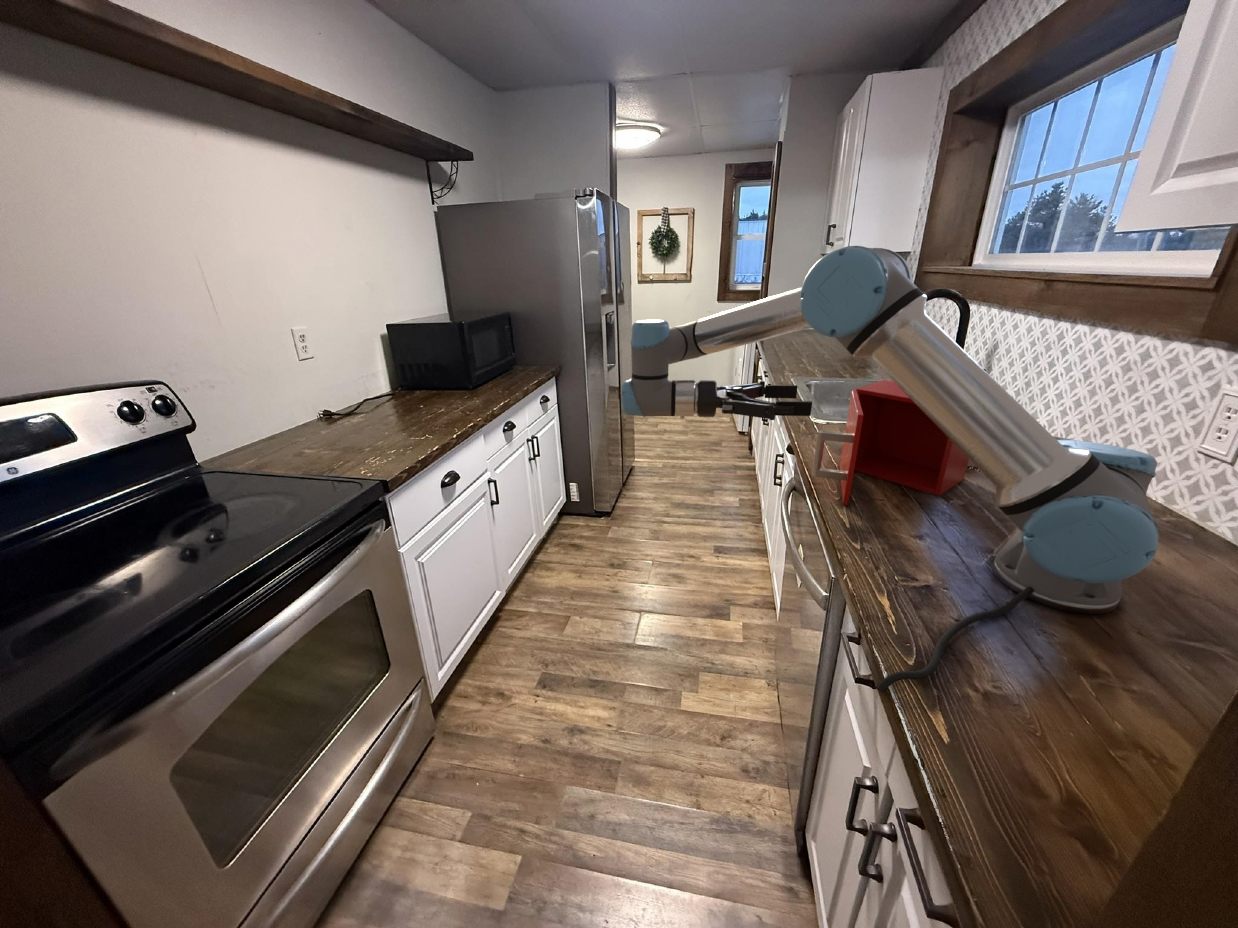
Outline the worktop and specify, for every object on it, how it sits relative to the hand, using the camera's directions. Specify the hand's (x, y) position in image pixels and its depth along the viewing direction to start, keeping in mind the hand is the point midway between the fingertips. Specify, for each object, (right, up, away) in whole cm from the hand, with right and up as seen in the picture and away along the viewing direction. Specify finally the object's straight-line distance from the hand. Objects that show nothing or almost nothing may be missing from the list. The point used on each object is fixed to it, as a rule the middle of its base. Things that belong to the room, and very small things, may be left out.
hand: (803, 399), depth 99 cm
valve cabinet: (+31, -15, +20) cm, 40 cm away
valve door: (+11, -17, +15) cm, 26 cm away
